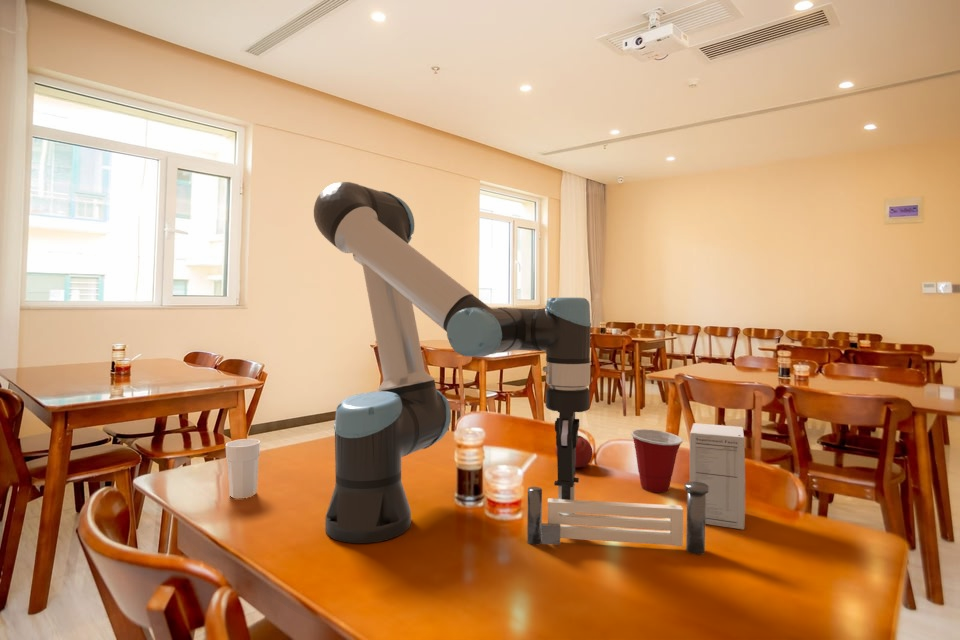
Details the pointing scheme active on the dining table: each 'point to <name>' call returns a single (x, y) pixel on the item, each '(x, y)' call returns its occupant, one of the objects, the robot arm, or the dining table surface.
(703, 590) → the dining table surface
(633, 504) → the gate
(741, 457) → the supplement box
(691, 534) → the hinge post
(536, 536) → the post
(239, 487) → the cup
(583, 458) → the tomato
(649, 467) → the plastic cup
